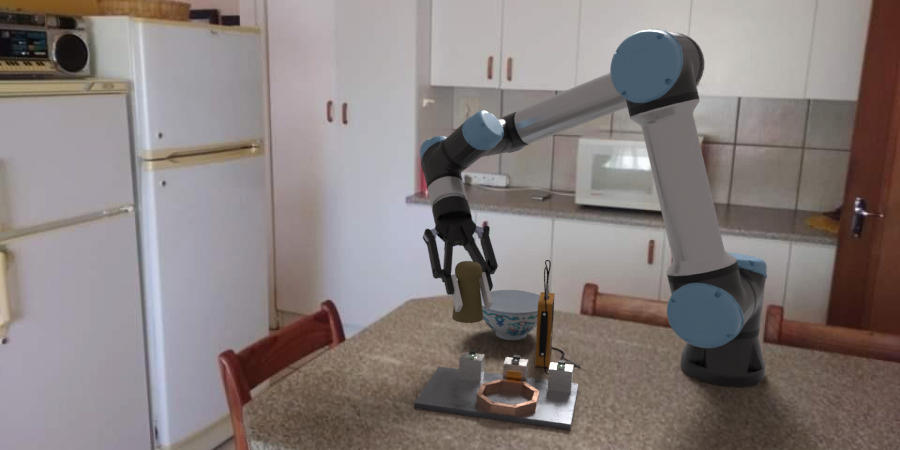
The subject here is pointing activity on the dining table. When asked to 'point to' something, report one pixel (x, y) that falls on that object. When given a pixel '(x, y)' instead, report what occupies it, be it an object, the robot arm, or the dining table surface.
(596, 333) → the dining table surface
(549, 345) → the multimeter
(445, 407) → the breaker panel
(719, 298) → the robot arm
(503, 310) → the chinaware
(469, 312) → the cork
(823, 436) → the dining table surface
